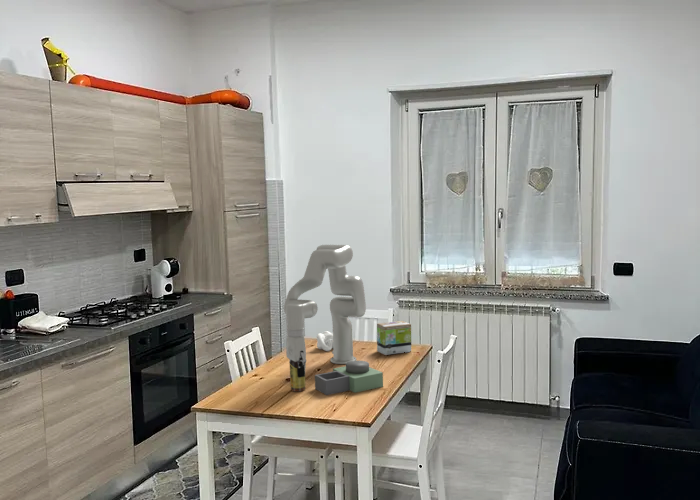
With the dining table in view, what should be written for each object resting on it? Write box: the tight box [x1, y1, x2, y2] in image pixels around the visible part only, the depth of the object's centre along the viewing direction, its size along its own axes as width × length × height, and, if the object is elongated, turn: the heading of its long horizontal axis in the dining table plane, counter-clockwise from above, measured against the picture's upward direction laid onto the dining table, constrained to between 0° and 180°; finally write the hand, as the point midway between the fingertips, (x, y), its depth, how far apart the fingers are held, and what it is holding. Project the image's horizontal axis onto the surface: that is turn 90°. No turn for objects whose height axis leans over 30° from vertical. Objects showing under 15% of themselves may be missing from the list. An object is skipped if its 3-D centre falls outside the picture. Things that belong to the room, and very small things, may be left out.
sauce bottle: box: [289, 359, 306, 392], centre depth 269 cm, size 7×6×20 cm
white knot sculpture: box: [316, 330, 333, 352], centre depth 337 cm, size 11×12×9 cm
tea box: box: [376, 320, 412, 356], centre depth 328 cm, size 15×10×15 cm
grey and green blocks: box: [314, 360, 384, 396], centre depth 273 cm, size 18×25×9 cm
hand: (297, 374), depth 270 cm, fingers closed on sauce bottle, 6 cm apart
